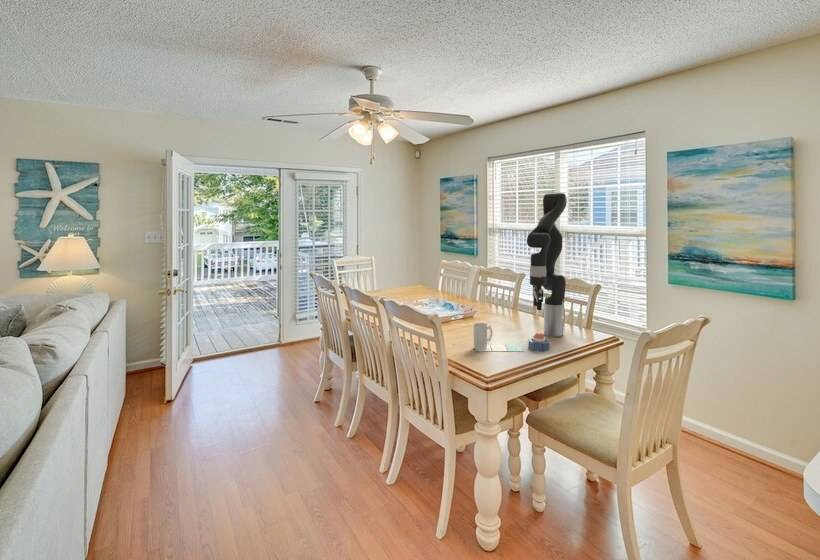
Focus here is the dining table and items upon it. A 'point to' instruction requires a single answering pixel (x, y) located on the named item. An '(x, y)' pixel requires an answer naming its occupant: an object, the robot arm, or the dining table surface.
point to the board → (502, 348)
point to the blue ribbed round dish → (538, 345)
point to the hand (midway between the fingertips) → (537, 307)
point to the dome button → (539, 338)
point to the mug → (481, 336)
